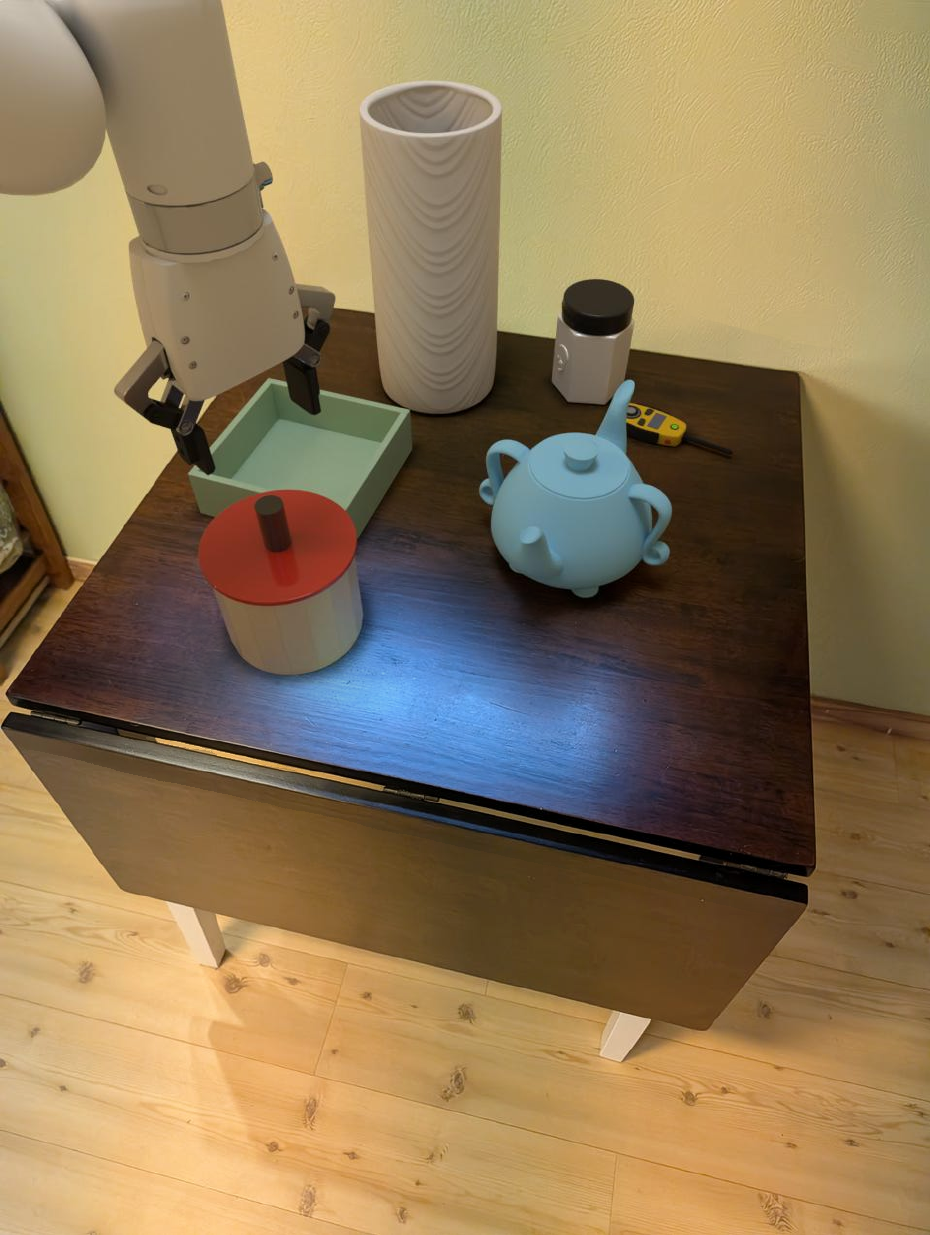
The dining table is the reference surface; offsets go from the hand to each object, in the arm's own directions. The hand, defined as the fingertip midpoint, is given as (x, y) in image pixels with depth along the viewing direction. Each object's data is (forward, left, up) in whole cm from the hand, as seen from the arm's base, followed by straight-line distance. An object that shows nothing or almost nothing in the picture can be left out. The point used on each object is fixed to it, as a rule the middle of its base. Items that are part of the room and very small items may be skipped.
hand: (255, 434), depth 64 cm
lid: (0, 0, -12) cm, 12 cm away
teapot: (+28, +2, -23) cm, 36 cm away
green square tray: (+4, +20, -23) cm, 30 cm away
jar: (+40, +29, -23) cm, 54 cm away
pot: (0, 0, -23) cm, 23 cm away
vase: (+22, +34, -23) cm, 46 cm away
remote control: (+46, +17, -23) cm, 54 cm away
